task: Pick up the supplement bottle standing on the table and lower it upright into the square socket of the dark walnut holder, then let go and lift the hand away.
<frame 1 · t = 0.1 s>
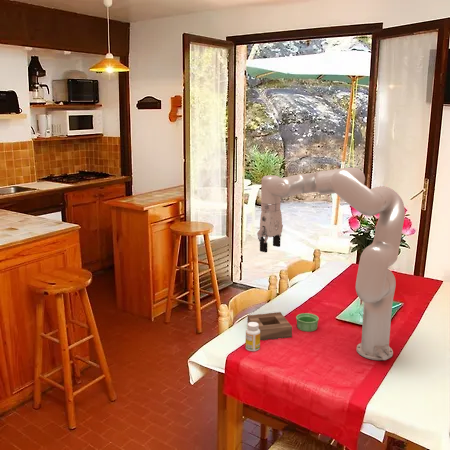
hand: (270, 248, 196), 31 cm above the table, tool pointing down, fingers open, 9 cm apart
supplement bottle: (252, 348, 180), on the table
ramekin: (307, 328, 197), on the table
walnut holder: (269, 331, 194), on the table
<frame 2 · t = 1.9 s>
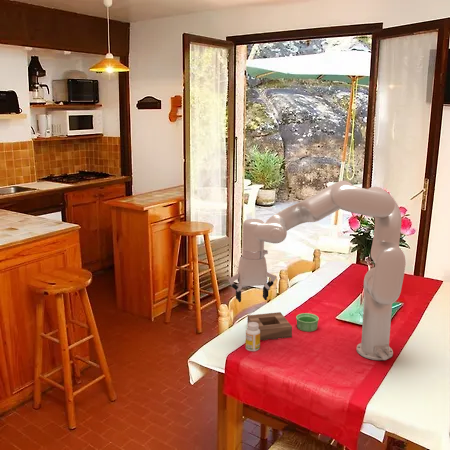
hand: (252, 299, 176), 19 cm above the table, tool pointing down, fingers open, 9 cm apart
nothing on the table moved.
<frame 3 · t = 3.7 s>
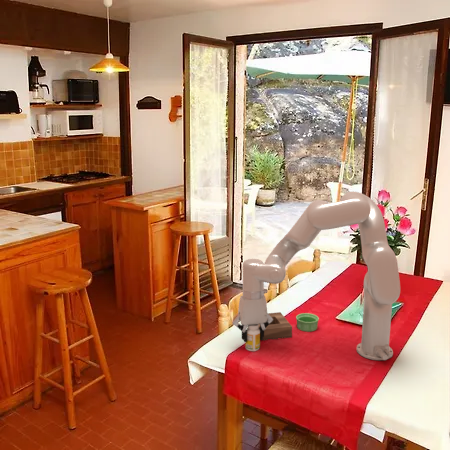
hand: (252, 339, 179), 4 cm above the table, tool pointing down, fingers closed on supplement bottle, 5 cm apart
supplement bottle: (252, 348, 180), on the table, touching gripper
everything else where it was.
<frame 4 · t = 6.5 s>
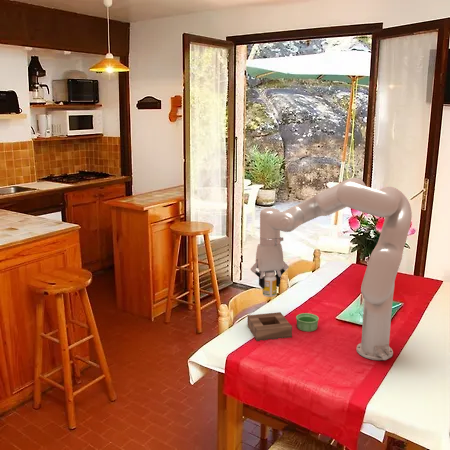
hand: (269, 286, 189), 19 cm above the table, tool pointing down, fingers closed on supplement bottle, 5 cm apart
supplement bottle: (269, 295, 190), point 15 cm above the table, touching gripper
everything else where it was.
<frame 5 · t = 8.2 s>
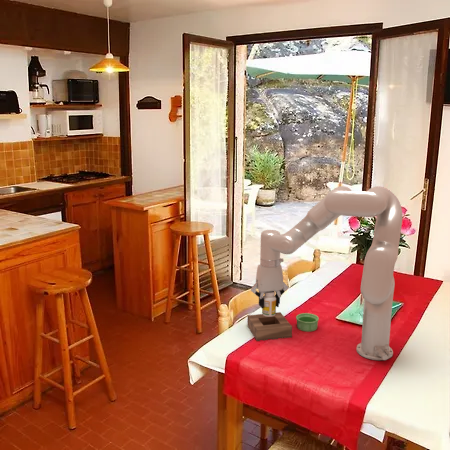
hand: (269, 306, 191), 11 cm above the table, tool pointing down, fingers closed on supplement bottle, 5 cm apart
supplement bottle: (269, 314, 192), point 7 cm above the table, touching gripper
everything else where it was.
when the fingers open (6 cm above the table, at t = 9.6 s): supplement bottle drops 1 cm, resting on walnut holder.
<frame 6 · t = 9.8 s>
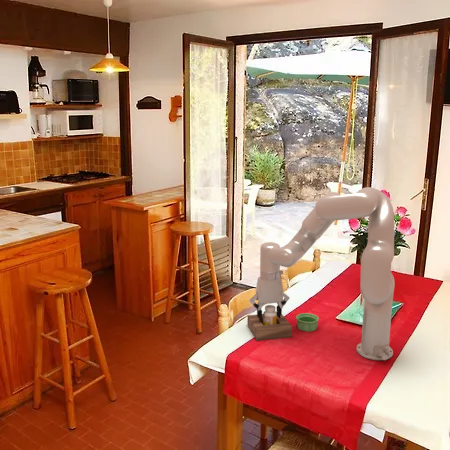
hand: (269, 317, 192), 6 cm above the table, tool pointing down, fingers open, 7 cm apart
supplement bottle: (269, 329, 193), point 1 cm above the table, touching walnut holder
everything else where it was.
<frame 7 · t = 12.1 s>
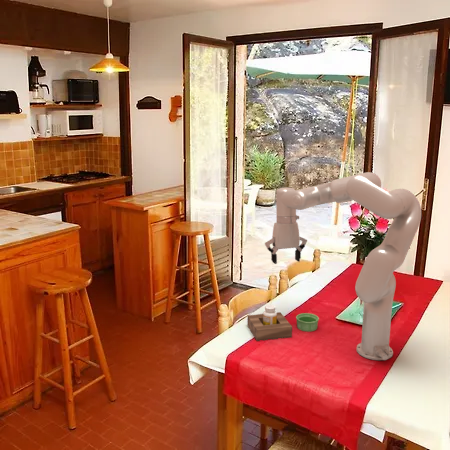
hand: (286, 261, 193), 27 cm above the table, tool pointing down, fingers open, 9 cm apart
nothing on the table moved.
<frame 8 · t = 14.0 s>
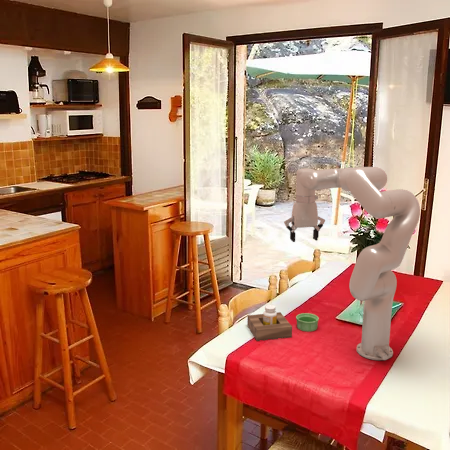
hand: (304, 240, 200), 33 cm above the table, tool pointing down, fingers open, 9 cm apart
nothing on the table moved.
at the end: supplement bottle 0.2 cm off-centre on the walnut holder, point 0.6 cm above the walnut holder's base; supplement bottle tilted 0°; the gripper is holding nothing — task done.
